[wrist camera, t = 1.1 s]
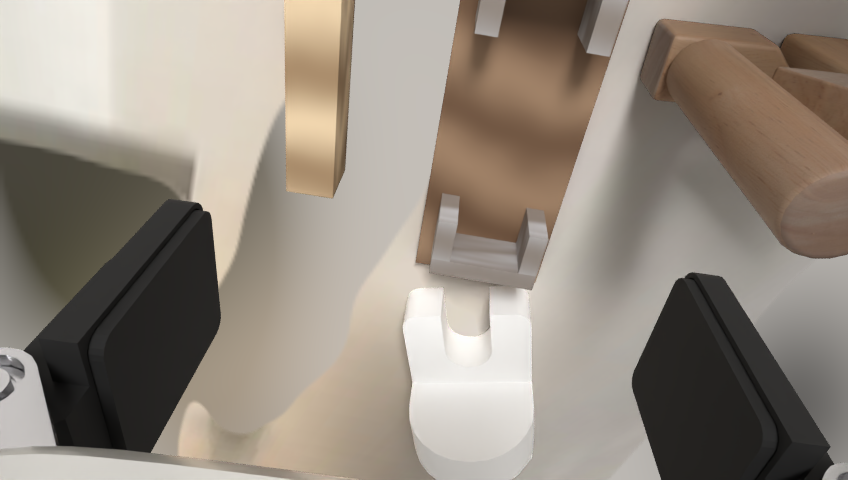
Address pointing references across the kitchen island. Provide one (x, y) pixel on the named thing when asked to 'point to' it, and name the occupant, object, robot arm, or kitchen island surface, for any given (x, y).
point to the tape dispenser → (471, 387)
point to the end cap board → (512, 132)
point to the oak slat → (317, 93)
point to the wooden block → (766, 121)
